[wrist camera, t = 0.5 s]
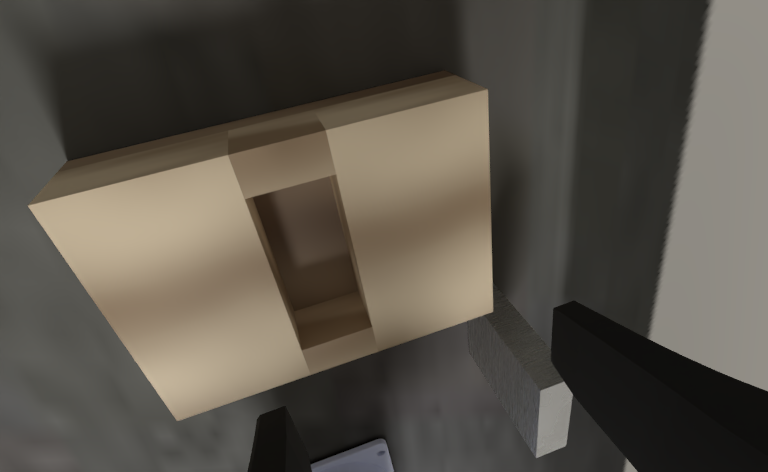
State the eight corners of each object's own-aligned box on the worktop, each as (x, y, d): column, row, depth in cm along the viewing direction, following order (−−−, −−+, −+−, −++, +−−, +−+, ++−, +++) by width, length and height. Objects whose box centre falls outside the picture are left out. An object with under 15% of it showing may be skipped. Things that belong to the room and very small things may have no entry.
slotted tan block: (459, 269, 23) (493, 311, 20) (184, 358, 20) (177, 421, 17) (444, 70, 17) (487, 89, 14) (66, 161, 15) (27, 205, 12)
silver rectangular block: (493, 343, 27) (565, 445, 21) (468, 352, 26) (536, 458, 20) (491, 280, 24) (574, 377, 18) (464, 289, 24) (540, 390, 18)
